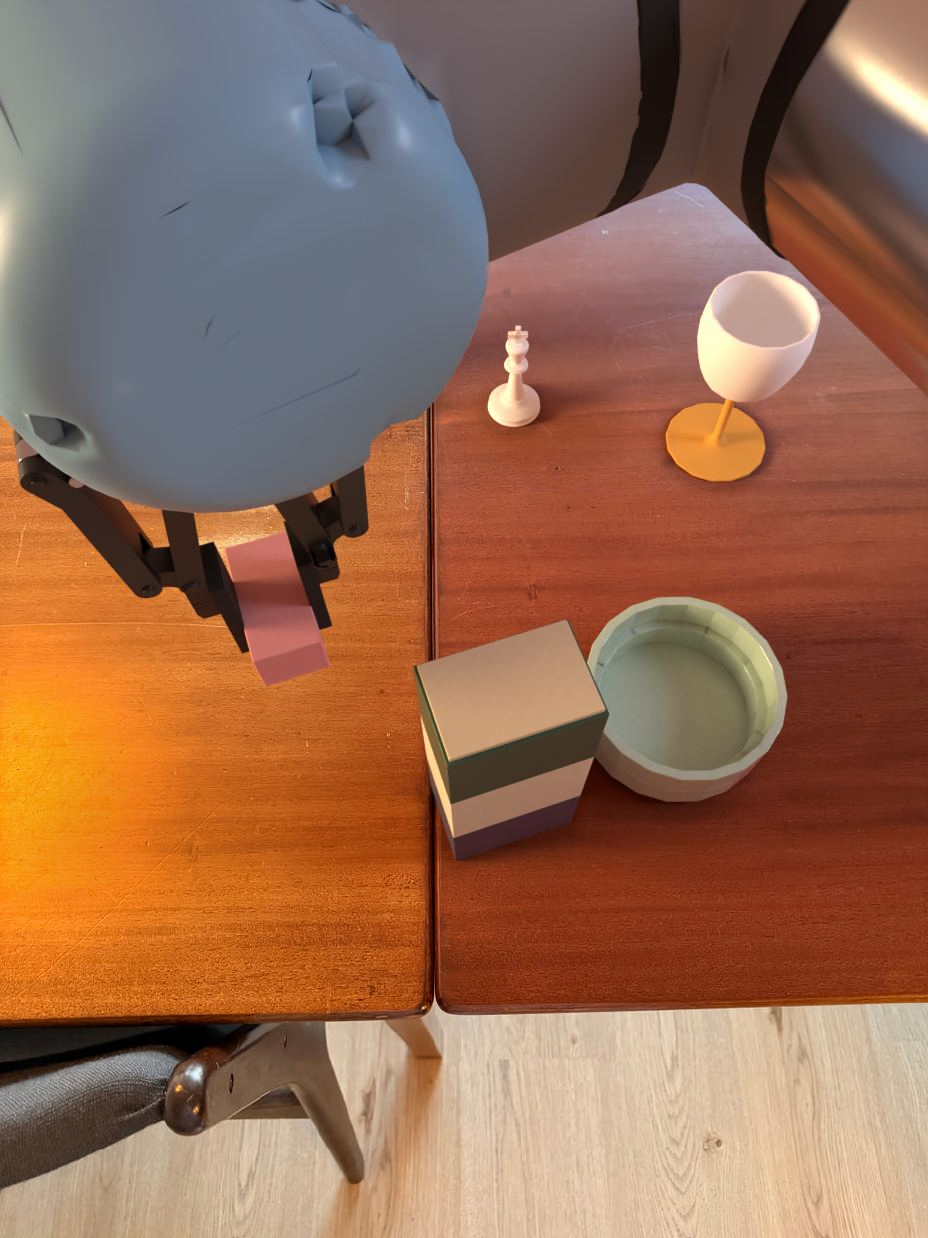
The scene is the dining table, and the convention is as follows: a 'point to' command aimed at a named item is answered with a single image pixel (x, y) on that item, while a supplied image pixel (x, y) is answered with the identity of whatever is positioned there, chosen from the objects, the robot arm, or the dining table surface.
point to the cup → (742, 370)
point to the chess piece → (515, 387)
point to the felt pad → (509, 690)
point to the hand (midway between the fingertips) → (281, 617)
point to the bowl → (685, 698)
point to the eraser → (275, 610)
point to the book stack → (509, 780)
